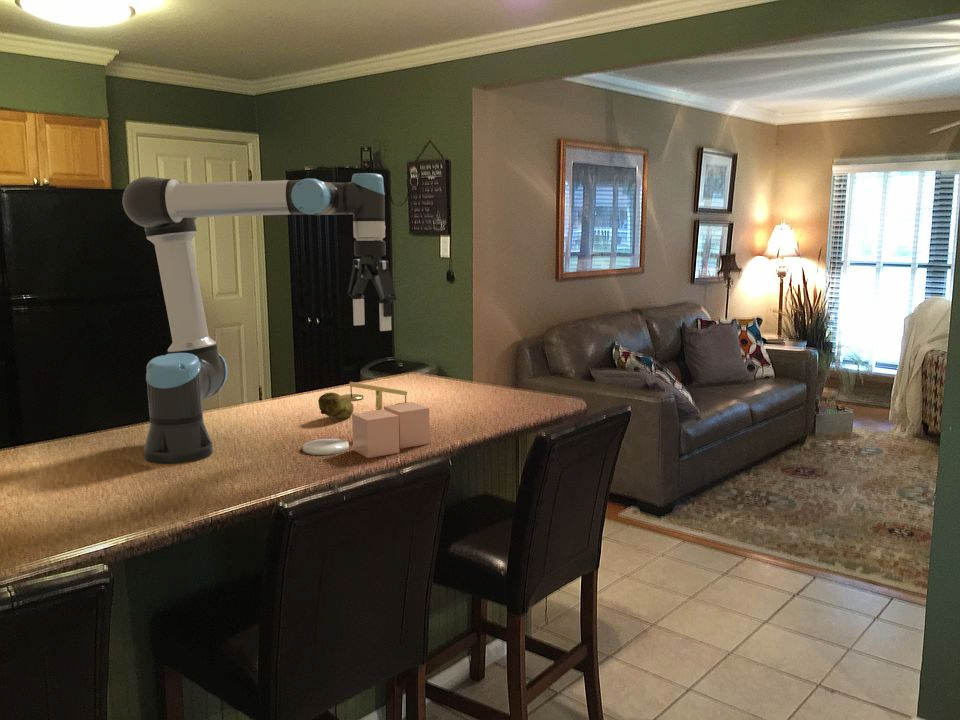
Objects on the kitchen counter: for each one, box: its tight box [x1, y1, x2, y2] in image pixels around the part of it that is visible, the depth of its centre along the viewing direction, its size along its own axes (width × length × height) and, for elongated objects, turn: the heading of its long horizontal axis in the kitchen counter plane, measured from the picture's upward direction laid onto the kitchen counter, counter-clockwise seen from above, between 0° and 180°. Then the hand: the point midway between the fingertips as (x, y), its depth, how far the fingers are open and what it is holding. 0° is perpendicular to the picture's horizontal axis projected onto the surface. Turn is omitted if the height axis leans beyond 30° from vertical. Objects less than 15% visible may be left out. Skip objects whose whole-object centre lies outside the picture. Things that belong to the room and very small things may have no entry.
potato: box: [318, 392, 354, 420], centre depth 225 cm, size 8×13×8 cm, turn 140°
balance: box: [339, 381, 410, 410], centre depth 207 cm, size 21×6×15 cm, turn 124°
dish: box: [302, 438, 350, 456], centre depth 195 cm, size 11×11×1 cm
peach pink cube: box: [383, 401, 431, 450], centre depth 200 cm, size 8×8×9 cm
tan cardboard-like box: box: [351, 408, 400, 459], centre depth 192 cm, size 8×8×9 cm
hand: (372, 327), depth 196 cm, fingers open, 13 cm apart
